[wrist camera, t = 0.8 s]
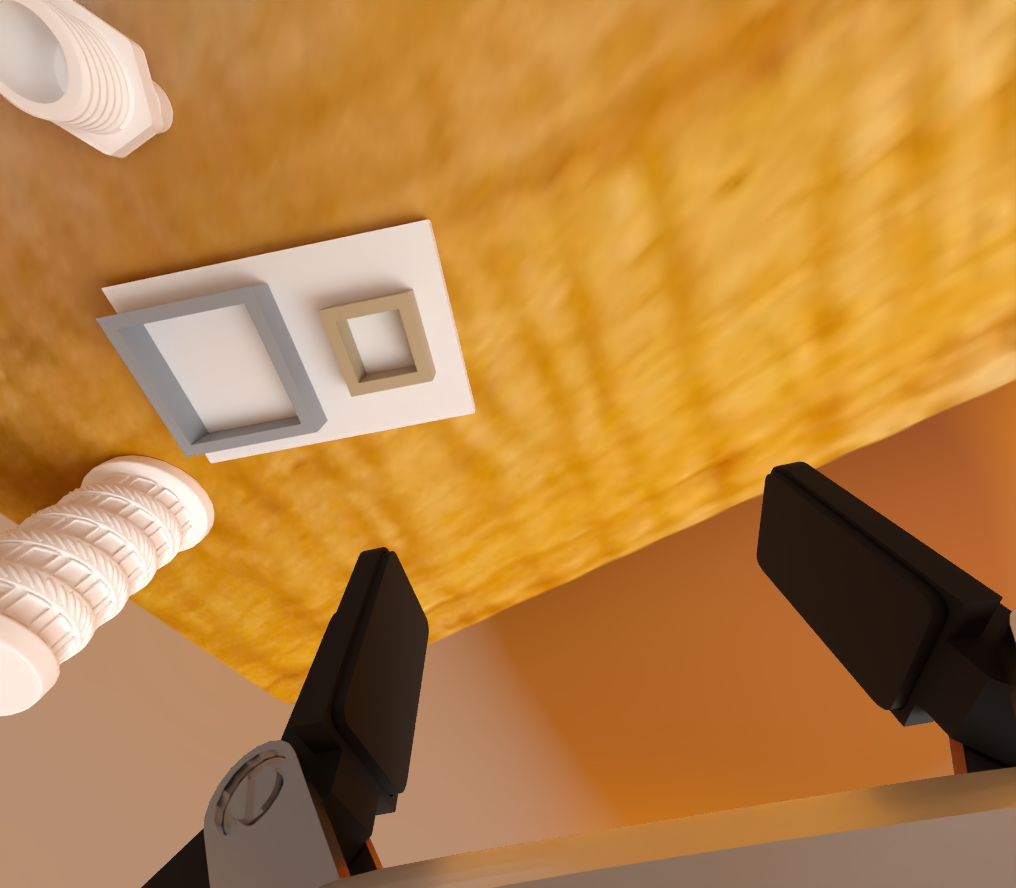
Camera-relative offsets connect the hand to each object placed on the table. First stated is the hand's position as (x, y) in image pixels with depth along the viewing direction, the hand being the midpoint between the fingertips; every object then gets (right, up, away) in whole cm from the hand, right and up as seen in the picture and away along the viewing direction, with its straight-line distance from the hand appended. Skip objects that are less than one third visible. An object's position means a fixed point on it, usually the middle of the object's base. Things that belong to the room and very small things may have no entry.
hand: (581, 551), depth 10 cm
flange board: (-19, +11, +25) cm, 33 cm away
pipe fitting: (-26, +26, +17) cm, 41 cm away
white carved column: (-39, -3, +31) cm, 50 cm away
